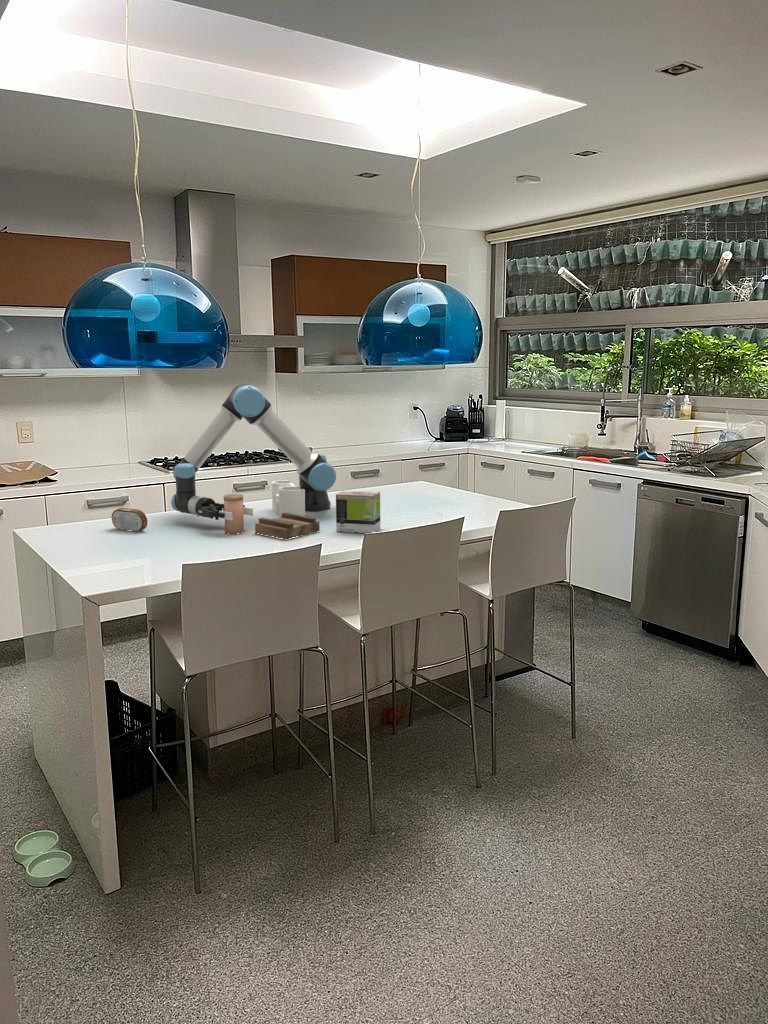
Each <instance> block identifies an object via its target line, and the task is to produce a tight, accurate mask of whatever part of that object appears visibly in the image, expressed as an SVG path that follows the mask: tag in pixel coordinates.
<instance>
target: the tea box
mask: <svg viewBox="0 0 768 1024" xmlns="http://www.w3.org/2000/svg"><path fill="white" fill-rule="evenodd" d="M335 515H336V516H335V522H336V523H335V524H336V525H335V527H336V532H339V531H345V532H344V533H355V532H358V533H357V534H359V533H361V534H366V533H365V532H374V531H378V532H379V530H380V529H381V492H380V491H369V490H345V489H344V490H341V491H339V492H338V493H336V494H335Z"/></svg>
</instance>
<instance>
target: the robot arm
mask: <svg viewBox="0 0 768 1024" xmlns="http://www.w3.org/2000/svg"><path fill="white" fill-rule="evenodd" d="M220 407H221V410H220V411H219V412H218V414H216V416H215V417H214V418H213V420H212V421H211V422H210V424H209V425H208V426H207V427H206V429H205V430H204V431H203V432H202V434H201V435H200V437H198V439H197V441H195V443H194V444H193V445H192V446H191V448H190V449H189V450H188V451H187V453H186V454H185V456H183V458H182V460H181V461H179V463H178V464H176V465H175V466H174V468H173V470H172V473H173V474H172V475H173V478H174V480H175V489H176V490H175V494H173V495H172V499H171V500H170V504H171V507H172V509H173V510H175V511H176V512H180V513H181V514H189V515H193V516H196V517H198V518H199V517H202V518H207V519H208V518H209V519H213V520H214V519H215V520H216V521H218V520H219V519H222V520H225V519H227V520H233V515H232V513H231V512H226V511H224V503H219V502H215V500H214V498H211V497H206V496H200V495H197V490H196V473H198V471H199V469H200V468H201V467H202V466H203V464H205V462H206V460H207V459H208V458H209V456H210V455H211V454H212V453H213V452H214V450H216V448H217V447H218V445H219V444H220V443H221V442H222V440H223V439H224V437H225V436H227V434H228V433H229V431H230V430H231V429H232V428H233V426H234V425H235V424H236V423H237V422H240V421H241V420H242V419H244V420H245V421H247V423H249V425H250V426H257V427H258V429H259V430H260V431H261V432H262V433H263V434H264V435H265V436H266V437H267V438H268V439H269V440H271V442H273V444H274V445H275V446H276V447H277V448H278V449H279V450H280V451H281V452H282V453H283V454H284V456H286V457H287V459H289V460H290V461H291V462H292V463H293V464H294V466H296V472H297V474H298V484H299V485H298V486H300V489H305V512H306V511H307V512H320V511H325V510H326V511H327V510H329V509H331V508H330V507H331V506H332V505H331V504H332V503H331V500H330V497H329V494H328V492H327V491H328V490H329V489H331V488H332V487H333V486H334V485H335V483H336V480H337V472H336V470H335V468H334V466H333V465H331V464H330V463H328V461H327V457H326V455H325V454H319V452H315V451H314V452H312V451H311V449H310V448H309V447H308V446H307V445H306V444H305V443H304V442H303V441H302V440H301V439H300V438H299V437H298V436H297V435H296V434H295V433H294V432H293V430H291V429H290V427H288V426H287V424H286V423H285V422H284V421H283V420H282V419H281V418H280V417H279V416H278V415H277V414H276V413H275V412H274V411H273V409H272V408H273V405H272V404H271V402H270V401H269V400H268V399H267V398H266V397H265V396H264V394H263V392H262V391H261V390H260V389H259V388H258V387H256V386H253V385H250V384H245V383H243V384H239V385H236V386H235V387H234V388H233V389H232V390H231V392H230V393H229V394H228V396H227V397H226V398H225V401H224V402H223V403H222V404H221V406H220ZM243 514H244V516H250V517H252V516H253V515H254V508H253V507H247V506H245V504H243Z"/></svg>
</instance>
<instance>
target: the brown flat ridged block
mask: <svg viewBox="0 0 768 1024" xmlns="http://www.w3.org/2000/svg"><path fill="white" fill-rule="evenodd" d="M320 525H321V524H320V521H319V520H317V518H316V517H310V516H306V515H305V516H301V515H295V514H290V513H282V517H281V518H279V517H278V518H273V519H270V518H266V517H261V518H258V522H255V523H254V533H259V534H263V535H268V536H274V537H278V538H283V539H289V538H292V537H296V536H301V535H305V534H308V535H310V534H309V533H312V534H315V533H314V532H316V533H318V532H317V531H320V529H321V528H320ZM263 535H262V536H263ZM305 536H306V535H305ZM301 537H302V536H301Z"/></svg>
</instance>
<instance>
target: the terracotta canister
mask: <svg viewBox="0 0 768 1024" xmlns="http://www.w3.org/2000/svg"><path fill="white" fill-rule="evenodd" d="M223 504H224V511H226V512H231V513H232V515H233V520H227V519H224V529H225V530H224V534H226V533H229V534H228V535H232V534H234V535H238V534H237V533H242V532H244V533H245V523H244V521H245V519H244V517H245V514H243V505H244V495H243V494H240V493H229V494H224V495H223ZM242 534H243V533H242Z"/></svg>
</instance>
